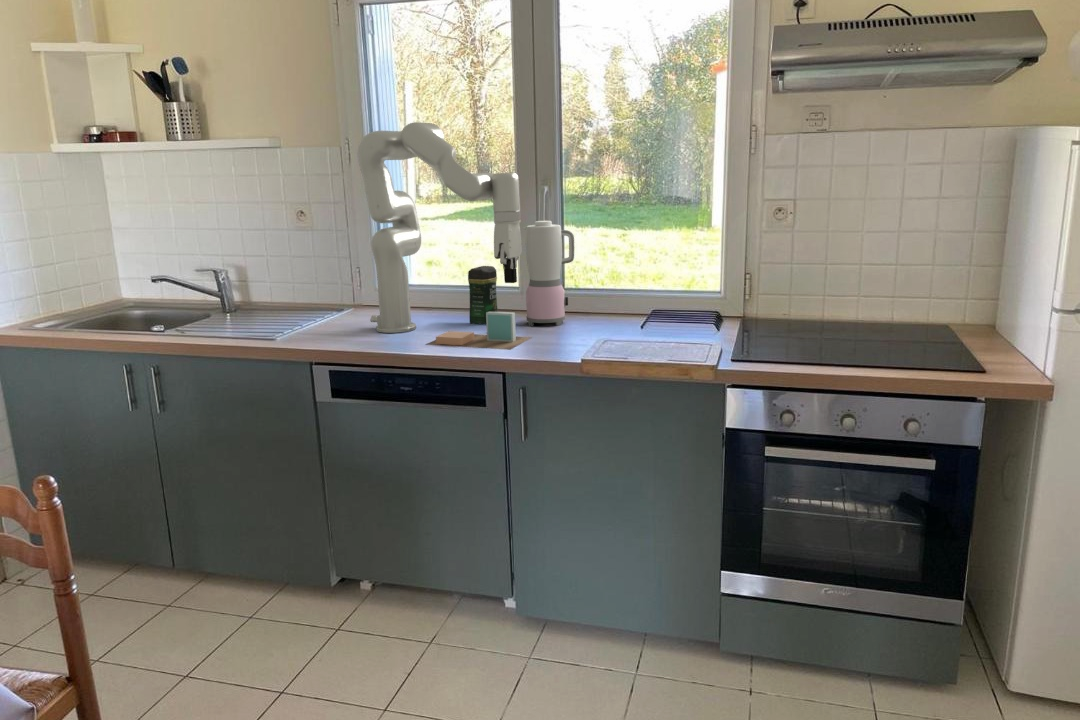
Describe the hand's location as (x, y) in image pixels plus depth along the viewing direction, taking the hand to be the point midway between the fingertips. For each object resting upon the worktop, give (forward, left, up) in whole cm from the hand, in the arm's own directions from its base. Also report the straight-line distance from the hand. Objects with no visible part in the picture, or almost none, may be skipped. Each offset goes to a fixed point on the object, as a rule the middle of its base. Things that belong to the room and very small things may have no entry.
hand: (510, 282), depth 234 cm
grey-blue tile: (-1, -7, -16) cm, 17 cm away
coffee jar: (-18, +18, -17) cm, 30 cm away
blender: (+2, +25, -17) cm, 30 cm away
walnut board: (-7, -9, -17) cm, 20 cm away
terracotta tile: (-13, -8, -14) cm, 21 cm away
